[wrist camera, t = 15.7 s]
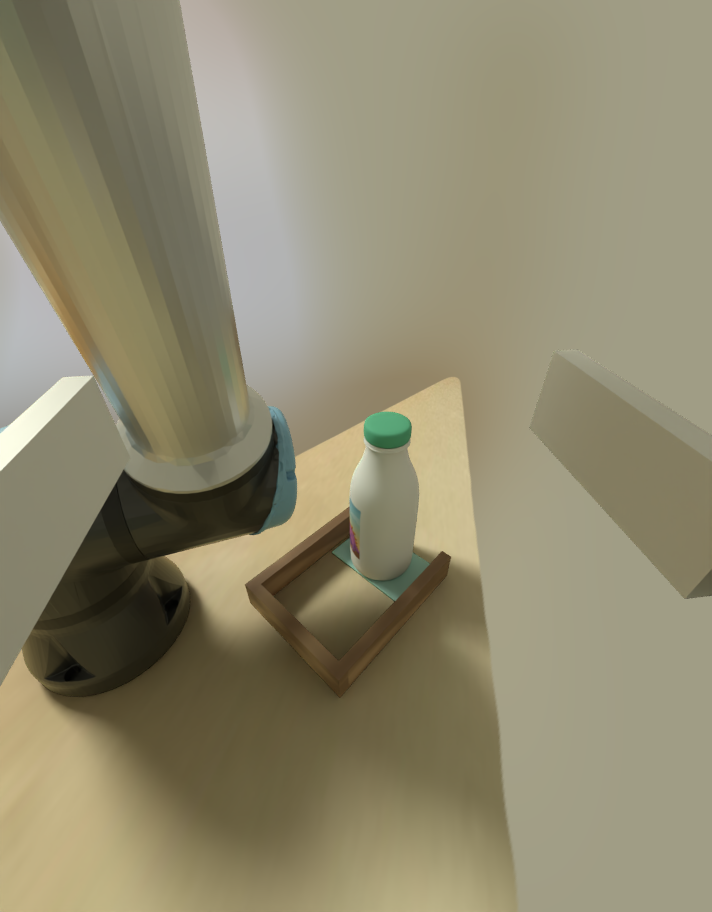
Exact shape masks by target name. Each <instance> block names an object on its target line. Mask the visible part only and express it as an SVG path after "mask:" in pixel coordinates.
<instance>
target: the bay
mask: <svg viewBox="0 0 712 912" xmlns="http://www.w3.org/2000/svg"><path fill="white" fill-rule="evenodd" d="M348 535H350V507H348V508H347V509H346V510H344V511H343V512H342V513H340V514H339V515H338V516H336V517H335V518H334V519H332V520H331V521H330V522H328V523H327V524H325V525H324V526H323V527H321V528H320V529H319V530H317V531H316V532H315V533H313V534H312V535H311V536H309V537H308V538H307V539H305V540H304V541H303V542H301V543H300V544H299V545H297V546H296V547H295V548H293V549H292V550H291V551H289V552H288V553H287V554H285V555H284V556H283V557H281V558H280V559H279V560H277V561H276V562H274V563H273V564H272V565H270V566H269V567H268V568H266V569H265V570H264V571H262V572H261V573H260V574H258V575H257V576H256V577H254V578H253V579H252V580H250V581H249V582H248V583H246V584H245V586H246V589H247V593H248V596H249V600H250V603H251V604H252V605H253V606H254V607H255V608H256V609H257V610H258V611H259V612H260V614H261V615H262V616H263V617H264V618H265V619H266V620H267V621H268V622H269V623H270V624H271V625H272V626H273V627H274V628H275V629H276V631H277V632H278V633H279V634H280V635H281V636H282V637H283V638H284V639H285V640H286V641H287V642H288V643H289V644H290V645H291V646H292V647H293V649H294V650H295V651H296V652H297V653H298V654H299V655H300V656H301V657H302V658H303V659H304V660H305V661H306V662H307V663H308V664H309V666H310V667H311V668H312V669H313V670H314V671H315V672H316V673H317V674H318V675H319V676H320V677H321V678H322V679H323V680H324V681H325V682H326V684H327V685H328V686H329V687H330V688H331V689H332V690H333V691H334V692H335V693H336V694H337V695H338V696H339V697H341V696H342V695H343V694H344V693H345V691H346V690H347V689H348V688H349V687H350V686H351V685H352V683H353V682H354V681H355V680H356V679H357V678H358V677H359V675H360V674H361V673H362V672H363V671H364V670H365V669H366V667H367V666H368V665H369V664H370V663H371V662H372V661H373V659H374V658H375V657H376V656H377V655H378V654H379V652H380V651H381V650H382V649H383V648H384V647H385V646H386V644H387V643H388V642H389V641H390V640H391V639H392V638H393V636H394V635H395V634H396V633H397V632H398V631H399V630H400V628H401V627H402V626H403V625H404V624H405V623H406V622H407V620H408V619H409V618H410V617H411V616H412V615H413V614H414V612H415V611H416V610H417V609H418V608H419V607H420V606H421V604H422V603H423V602H424V601H425V600H426V599H427V598H428V596H429V595H430V594H431V593H432V592H433V591H434V590H435V588H436V587H437V586H438V585H439V584H440V583H441V582H442V580H443V579H444V578H445V577H446V576H447V573H448V568H449V564H450V559H451V556H449V555H447V554H446V553H444V552H443V551H442V552H441V553H440V554H439V555H438V556H437V557H436V558H435V559H434V560H433V561H432V562H431V564H430V565H429V566H428V567H427V568H426V569H425V570H424V571H423V572H422V573H421V574H420V575H419V576H418V577H417V578H416V579H415V581H414V582H413V583H412V584H411V585H410V586H409V587H408V588H407V589H406V590H405V591H404V592H403V593H402V594H401V595H400V596H399V598H398V599H397V600H396V601H395V602H394V603H393V604H392V605H391V606H390V607H389V608H388V609H387V610H386V611H385V612H384V613H383V615H382V616H381V617H380V618H379V619H378V620H377V621H376V622H375V623H374V624H373V625H372V626H371V627H370V628H369V629H368V630H367V632H366V633H365V634H364V635H363V636H362V637H361V638H360V639H359V640H358V641H357V642H356V643H355V644H354V645H353V646H352V647H351V649H350V650H349V651H348V652H347V653H346V654H345V655H344V656H343V657H342V658H341V659H340V660H339V661H338V660H337V659H336V658H335V657H334V656H333V655H332V654H331V653H330V652H329V651H328V650H327V649H326V648H325V647H324V646H323V645H322V644H321V643H320V642H319V641H318V640H317V639H316V638H315V637H314V636H313V635H312V634H311V633H310V632H309V631H308V630H307V629H306V628H305V627H304V626H303V625H302V624H301V623H300V622H299V621H298V620H297V619H296V618H295V617H294V616H293V615H292V614H291V613H290V612H289V611H288V610H287V609H286V608H285V607H284V606H283V605H282V604H281V603H280V602H279V601H278V600H277V599H276V598H275V597H274V595H275V594H277V593H278V592H279V591H280V590H281V589H283V588H284V587H285V586H286V585H288V584H289V583H290V582H291V581H293V580H294V579H295V578H296V577H298V576H299V575H300V574H301V573H303V572H304V571H305V570H306V569H308V568H309V567H310V566H311V565H312V564H314V563H315V562H316V561H317V560H319V559H320V558H321V557H322V556H324V555H325V554H326V553H327V552H329V551H330V550H331V549H332V548H334V547H335V546H336V545H337V544H338V543H340V542H341V541H342V540H343V539H345V538H346V537H347V536H348Z"/></svg>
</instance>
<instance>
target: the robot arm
mask: <svg viewBox="0 0 712 912" xmlns="http://www.w3.org/2000/svg"><path fill="white" fill-rule="evenodd" d="M0 221H1V223H2V225H3V226H4V228H5V229H6V231H7V233H8V235H9V236H10V238H11V240H12V241H13V243H14V244H15V246H16V248H17V249H18V251H19V253H20V254H21V256H22V258H23V259H24V261H25V263H26V264H27V266H28V268H29V269H30V271H31V273H32V274H33V276H34V277H35V279H36V281H37V283H38V284H39V286H40V288H41V289H42V291H43V292H44V294H45V296H46V297H47V299H48V301H49V302H50V304H51V306H52V307H53V309H54V311H55V312H56V314H57V315H58V317H59V319H60V321H61V322H62V324H63V326H64V327H65V329H66V331H67V332H68V334H69V335H70V337H71V339H72V340H73V342H74V344H75V345H76V347H77V349H78V350H79V352H80V354H81V355H82V357H83V359H84V360H85V362H86V364H87V365H88V367H89V369H90V370H91V372H92V373H93V375H94V376H78V377H63V378H62V379H60V380H59V381H58V382H57V383H56V384H55V385H54V386H53V387H52V388H51V389H49V390H48V391H47V392H46V393H45V394H44V395H43V396H42V397H40V398H39V399H38V400H37V401H36V402H35V403H34V404H33V405H32V406H31V407H29V408H28V409H27V410H26V411H25V412H24V413H23V414H22V415H20V416H19V417H18V418H17V419H16V420H15V421H14V422H13V423H12V424H10V425H9V426H6V427H3V428H1V429H0V686H1V684H2V682H3V680H4V679H5V677H6V675H7V673H8V672H9V670H10V668H11V666H12V665H13V663H14V661H15V659H16V658H17V656H18V654H19V652H20V650H21V649H22V651H23V656H24V660H25V663H26V666H27V668H28V669H29V671H30V672H31V674H32V675H33V676H34V677H35V678H36V679H37V680H38V681H39V682H41V683H42V684H43V685H44V686H45V687H46V688H47V689H49V690H51V691H53V692H55V693H57V694H60V695H65V696H89V695H94V694H98V693H102V692H105V691H108V690H111V689H114V688H116V687H118V686H120V685H123V684H124V683H126V682H128V681H130V680H132V679H133V678H135V677H137V676H138V675H140V674H141V673H143V672H144V671H145V670H147V669H148V668H149V667H150V666H152V665H153V664H154V663H155V662H156V661H157V660H158V659H159V658H161V657H162V656H163V654H164V653H165V652H166V651H167V650H168V649H169V648H170V646H171V645H172V644H173V643H174V641H175V640H176V638H177V637H178V635H179V634H180V632H181V630H182V628H183V626H184V624H185V622H186V619H187V616H188V612H189V607H190V593H189V589H188V586H187V583H186V581H185V579H184V577H183V574H182V573H181V571H180V570H179V568H178V567H177V566H176V565H175V564H174V563H173V562H172V561H171V560H169V559H168V558H167V557H165V555H169V554H173V553H177V552H181V551H185V550H189V549H193V548H197V547H201V546H204V545H208V544H212V543H216V542H220V541H224V540H228V539H232V538H236V537H240V536H244V535H248V534H249V535H257V534H260V533H261V532H263V531H264V530H266V529H269V528H273V527H276V526H279V525H282V524H284V523H285V522H287V521H288V520H289V519H290V517H291V516H292V514H293V512H294V509H295V505H296V498H297V478H296V475H295V468H296V465H295V455H294V449H293V444H292V439H291V435H290V431H289V428H288V425H287V422H286V419H285V417H284V415H283V413H282V412H281V411H280V410H279V409H278V408H276V407H273V406H267V405H266V403H265V401H264V400H263V398H262V397H261V396H260V395H259V394H258V393H257V392H256V391H255V390H254V389H252V388H251V387H249V386H248V385H246V380H245V375H244V369H243V363H242V357H241V352H240V346H239V340H238V334H237V329H236V323H235V317H234V311H233V305H232V300H231V294H230V288H229V283H228V277H227V271H226V265H225V260H224V254H223V248H222V242H221V236H220V231H219V225H218V219H217V214H216V208H215V202H214V197H213V190H212V185H211V180H210V173H209V168H208V162H207V156H206V150H205V144H204V139H203V133H202V128H201V122H200V116H199V110H198V104H197V99H196V93H195V87H194V82H193V76H192V70H191V65H190V58H189V53H188V47H187V41H186V35H185V29H184V24H183V18H182V12H181V7H180V1H179V0H0ZM94 377H95V378H94ZM95 379H96V380H97V382H98V383H99V385H100V387H101V388H102V390H103V392H104V393H105V395H106V397H107V398H108V400H109V402H110V403H111V405H112V407H113V408H114V410H115V412H116V413H117V415H118V417H119V419H118V422H117V424H116V425H115V423H114V420H113V418H112V416H111V414H110V412H109V409H108V407H107V405H106V403H105V401H104V398H103V396H102V394H101V391H100V389H99V387H98V385H97V383H96V380H95ZM529 428H530V429H531V430H532V431H533V432H534V434H535V435H536V436H537V437H538V438H539V439H540V440H541V441H542V442H543V443H544V445H545V446H546V447H547V448H548V449H549V450H550V451H551V452H552V453H553V454H554V456H555V457H556V458H557V459H558V460H559V461H560V462H561V463H562V464H563V465H564V467H565V468H566V469H567V470H568V471H569V472H570V473H571V474H572V475H573V477H574V478H575V479H576V480H577V481H578V482H579V483H580V484H581V485H582V486H583V487H584V488H585V490H586V491H587V492H588V493H589V494H590V495H591V496H592V497H593V498H594V500H595V501H596V502H597V503H598V504H599V505H600V506H601V507H602V508H603V510H604V511H605V512H606V513H607V514H608V515H609V516H610V517H611V518H612V519H613V521H614V522H615V523H616V524H617V525H618V526H619V527H620V528H621V529H622V531H624V533H625V534H626V535H627V536H628V537H629V538H630V539H631V540H632V541H633V542H634V544H635V545H636V546H637V547H638V548H639V549H640V550H641V551H642V552H643V554H644V555H645V556H646V557H647V558H648V559H649V560H650V561H651V562H652V564H653V565H654V566H655V567H656V568H657V569H658V570H659V571H660V572H661V573H662V575H663V576H664V577H665V578H666V579H667V580H668V581H669V582H670V583H671V585H672V586H673V587H674V588H675V589H676V590H677V591H678V592H679V593H680V594H681V596H682V597H683V598H684V599H689V598H697V597H704V596H712V435H711V434H709V433H708V432H706V431H704V430H703V429H701V428H700V427H698V426H697V425H695V424H693V423H692V422H690V421H689V420H687V419H686V418H684V417H683V416H681V415H679V414H678V413H676V412H675V411H673V410H672V409H670V408H668V407H667V406H665V405H664V404H662V403H661V402H659V401H657V400H656V399H654V398H653V397H651V396H650V395H648V394H646V393H645V392H643V391H642V390H640V389H639V388H637V387H635V386H634V385H632V384H631V383H629V382H628V381H626V380H624V379H623V378H621V377H619V376H618V375H617V374H615V373H614V372H612V371H610V370H609V369H607V368H605V367H604V366H603V365H601V364H599V363H598V362H596V361H595V360H593V359H592V358H590V357H588V356H587V355H585V354H584V353H582V352H581V351H579V350H559V351H554V352H553V355H552V358H551V361H550V364H549V368H548V371H547V374H546V377H545V380H544V383H543V386H542V389H541V393H540V396H539V399H538V402H537V405H536V408H535V411H534V414H533V417H532V421H531V424H530V427H529Z"/></svg>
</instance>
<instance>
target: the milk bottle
mask: <svg viewBox="0 0 712 912" xmlns="http://www.w3.org/2000/svg"><path fill="white" fill-rule="evenodd" d="M411 430H412V426H411V422H410V420H409V419H408V418H407V417H405V416H403V415H401V414H399V413H395V412H379V413H375V414H373V415H371V416H369V417H368V418H367V419H366V420H365V423H364V443H365V445H366V449H365V452H364V454H363V457H362V459H361V460H360V462H359V464H358V465H357V467H356V469H355V471H354V474H353V476H352V480H351V486H350V552H351V560H352V563H353V565H354V566H355V568H356V569H357V570H358V571H359V572H360V573H361V574H362V575H364V576H366V577H368V578H370V579H373V580H379V581H386V580H392V579H394V578H397V577H399V576H400V575H402V574H403V573H404V572H405V571H406V570H407V569H408V567H409V565H410V563H411V559H412V553H413V545H414V537H415V529H416V521H417V512H418V502H419V484H418V478H417V475H416V472H415V469H414V467H413V465H412V463H411V461H410V458H409V455H408V450H407V448H408V446H409V445H410V438H411Z"/></svg>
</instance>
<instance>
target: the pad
mask: <svg viewBox="0 0 712 912" xmlns="http://www.w3.org/2000/svg"><path fill="white" fill-rule="evenodd" d="M332 553H333V554H334V555H335V556H337V557H338V558H339V559H341V560H342V561H343V562H344V563H346V564H347V565H348V566H350V567H351V568H352V569H353V570H355V571H356V572H357V573H359V574H360V575H361V576H362V577H364V578H365V579H366V580H368V581H369V582H370V583H371V584H373V585H374V586H375V587H377V588H378V589H379V590H380V591H382V592H383V593H384V594H385V595H387V596H388V597H389V598H391V599H392V600H393V601H394V602H395V601H396V600H397V599H398V598H399V596H400V595H401V594H402V593H403V592H404V591H405V590H406V589H407V588H408V587H409V586H410V585H411V584H412V583H413V582H414V581H415V579H416V578H417V577H418V576H419V575H420V574H421V573H422V572H423V571H424V570H425V569H426V568H427V567H428V566H429V565H430V563H428V562H427V561H425V560H424V559H422V558H421V557H419V556H418V555H416V554H415V553H412V559H411V563H410V565H409V567H408V569H407V570H406V571H405V572H404V573H403V574H402V575H400V576H399V577H397V578H394V579H392V580H386V581H379V580H373V579H370V578H368V577H366V576H364V575H362V574H361V573H360V572H359V571H358V570H357V569H356V568H355V566H354V565H353V563H352V560H351V552H350V538H348V539H347V540H346V541H345V542H344V543H342V544H341V545H340V546H339V547H337V548H336V549H335V550H334V551H333V552H332Z"/></svg>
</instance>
